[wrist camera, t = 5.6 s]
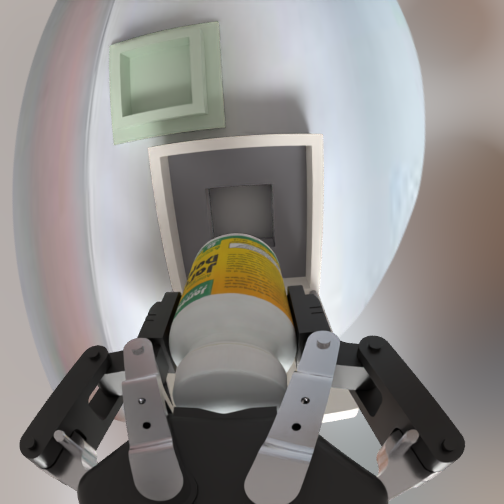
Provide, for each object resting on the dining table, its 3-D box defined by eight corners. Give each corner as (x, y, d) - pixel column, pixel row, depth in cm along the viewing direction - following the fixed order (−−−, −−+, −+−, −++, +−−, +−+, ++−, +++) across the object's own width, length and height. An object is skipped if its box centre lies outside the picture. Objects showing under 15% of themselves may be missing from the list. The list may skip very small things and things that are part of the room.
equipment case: (164, 144, 26) (42, 176, 9) (310, 133, 26) (415, 144, 8) (186, 288, 33) (144, 423, 16) (309, 281, 33) (355, 416, 16)
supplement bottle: (254, 317, 18) (259, 446, 10) (181, 286, 17) (139, 414, 9) (296, 253, 16) (341, 383, 8) (215, 214, 15) (178, 329, 7)
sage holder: (112, 47, 20) (99, 40, 17) (218, 23, 20) (215, 12, 17) (117, 144, 25) (103, 146, 22) (225, 127, 25) (222, 126, 22)
